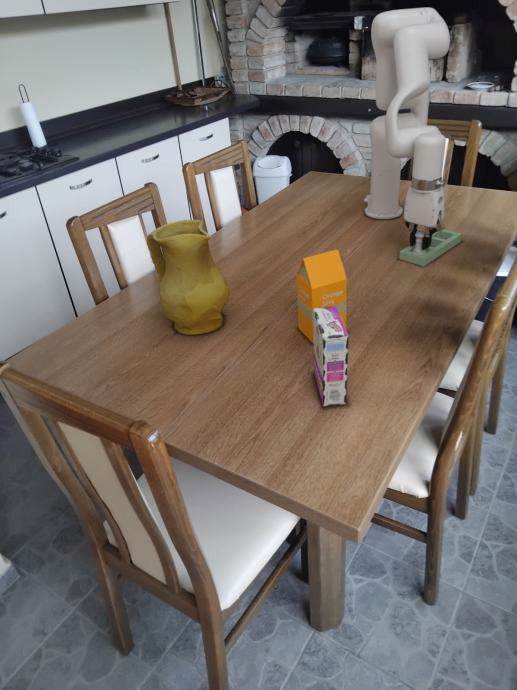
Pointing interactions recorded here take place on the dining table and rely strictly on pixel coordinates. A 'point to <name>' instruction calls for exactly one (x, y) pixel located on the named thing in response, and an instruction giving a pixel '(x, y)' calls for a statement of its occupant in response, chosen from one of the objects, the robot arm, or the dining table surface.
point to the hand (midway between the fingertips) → (419, 246)
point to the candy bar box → (330, 355)
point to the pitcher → (188, 277)
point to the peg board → (432, 248)
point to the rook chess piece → (419, 242)
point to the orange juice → (320, 288)
